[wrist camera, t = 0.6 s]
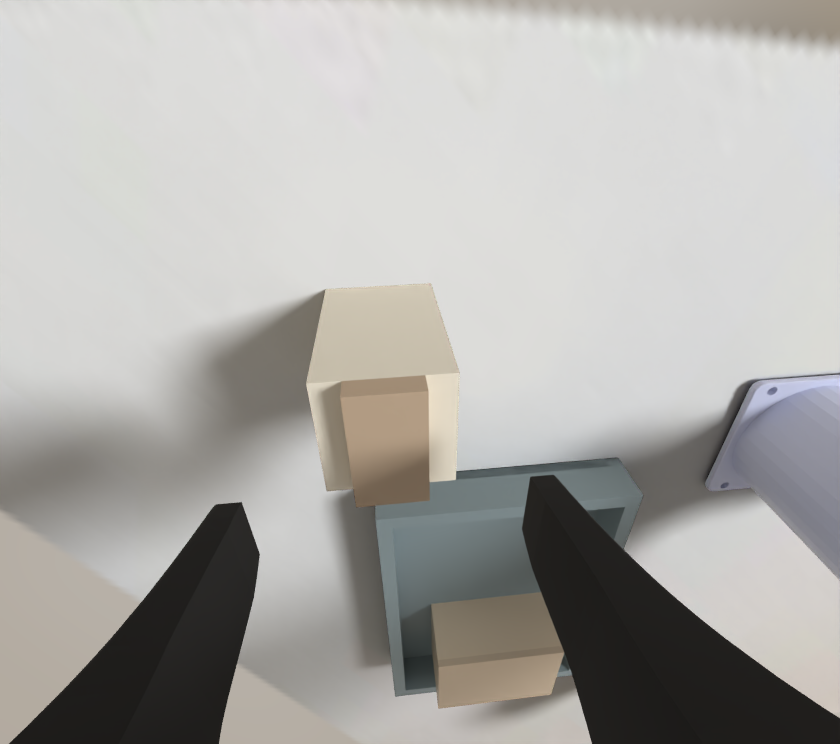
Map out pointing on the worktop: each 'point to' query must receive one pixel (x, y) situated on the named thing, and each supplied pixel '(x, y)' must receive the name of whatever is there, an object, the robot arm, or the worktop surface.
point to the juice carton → (384, 393)
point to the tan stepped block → (493, 649)
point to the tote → (477, 548)
